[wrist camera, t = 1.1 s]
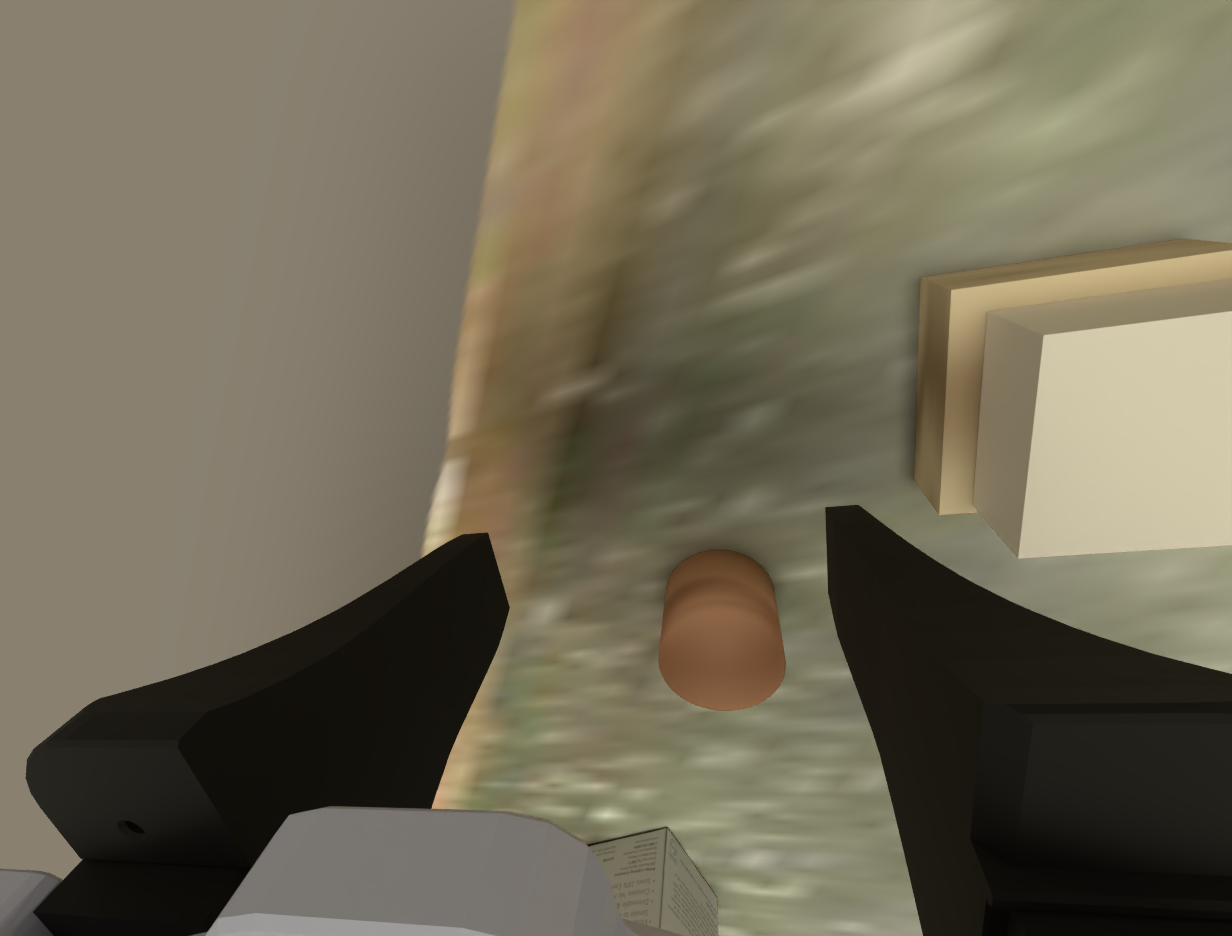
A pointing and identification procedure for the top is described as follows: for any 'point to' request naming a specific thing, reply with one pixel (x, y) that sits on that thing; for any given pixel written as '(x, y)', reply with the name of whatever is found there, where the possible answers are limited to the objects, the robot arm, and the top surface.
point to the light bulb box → (658, 884)
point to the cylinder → (721, 632)
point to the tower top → (1109, 422)
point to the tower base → (960, 329)
